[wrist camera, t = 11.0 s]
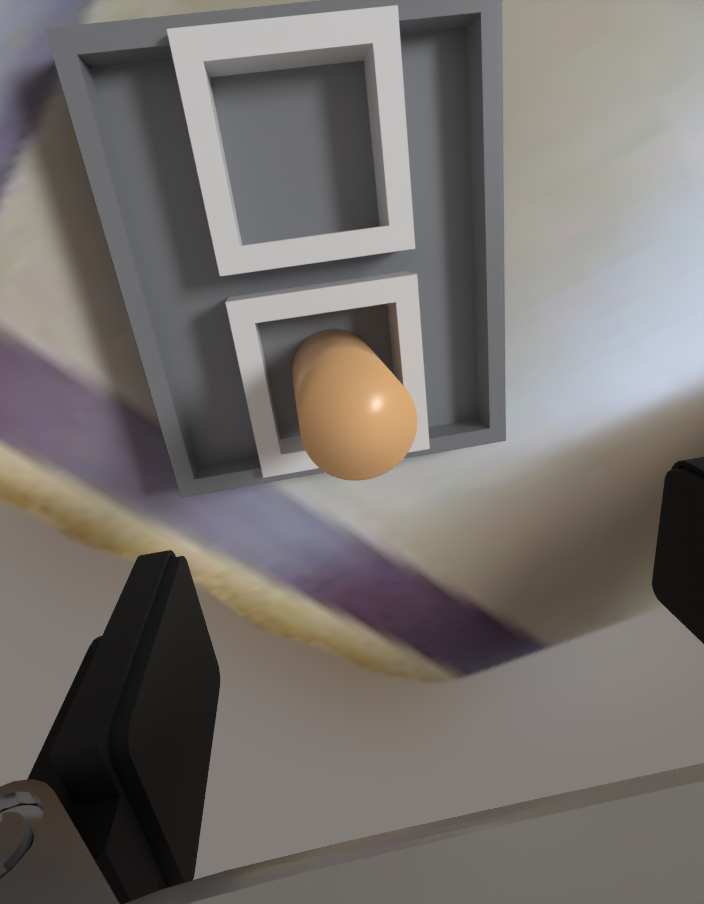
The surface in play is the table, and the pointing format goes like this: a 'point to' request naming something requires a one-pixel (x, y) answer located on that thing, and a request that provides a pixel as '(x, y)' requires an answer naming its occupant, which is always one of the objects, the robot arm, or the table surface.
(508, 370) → the table surface
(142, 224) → the tray
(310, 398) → the rounded peg
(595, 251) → the table surface
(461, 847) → the robot arm
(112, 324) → the table surface
